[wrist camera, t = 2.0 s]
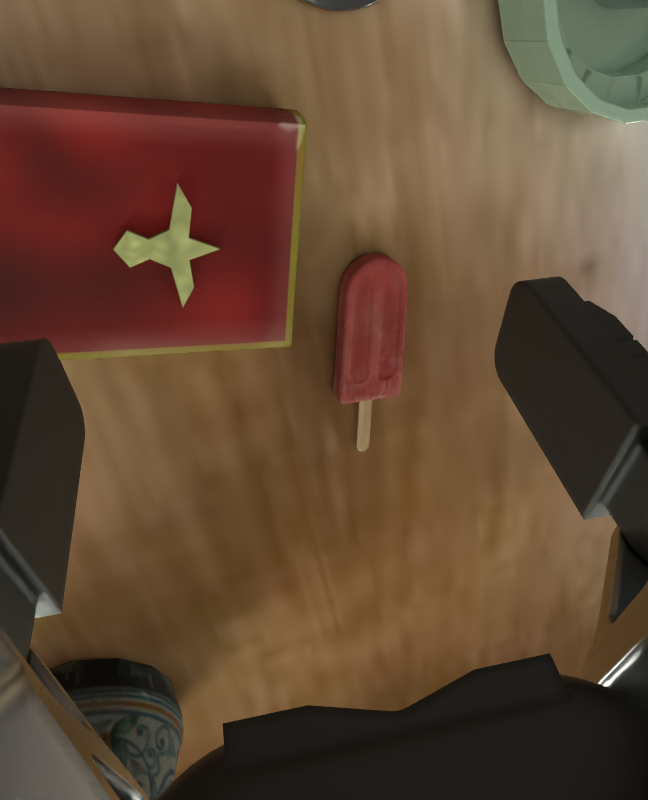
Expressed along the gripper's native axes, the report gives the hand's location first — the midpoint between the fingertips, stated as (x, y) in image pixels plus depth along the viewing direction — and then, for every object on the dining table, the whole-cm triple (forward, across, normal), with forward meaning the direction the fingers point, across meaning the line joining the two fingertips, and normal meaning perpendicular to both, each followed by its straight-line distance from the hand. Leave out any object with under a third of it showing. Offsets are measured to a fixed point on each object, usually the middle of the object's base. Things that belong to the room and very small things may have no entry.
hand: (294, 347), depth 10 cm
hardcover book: (+22, +8, +8) cm, 24 cm away
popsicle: (+21, -7, +20) cm, 30 cm away
